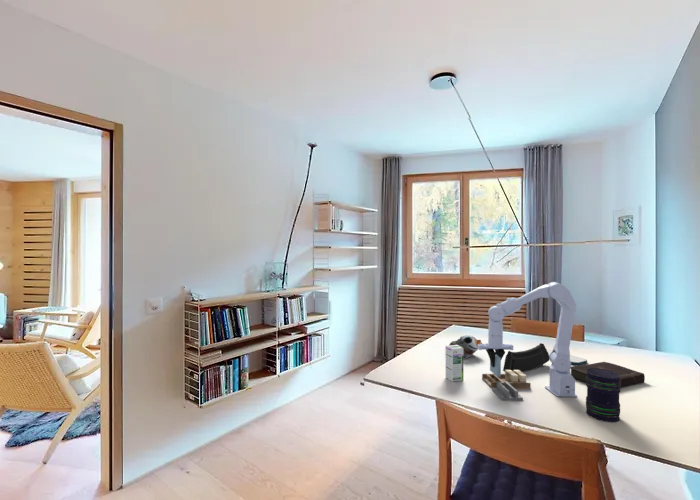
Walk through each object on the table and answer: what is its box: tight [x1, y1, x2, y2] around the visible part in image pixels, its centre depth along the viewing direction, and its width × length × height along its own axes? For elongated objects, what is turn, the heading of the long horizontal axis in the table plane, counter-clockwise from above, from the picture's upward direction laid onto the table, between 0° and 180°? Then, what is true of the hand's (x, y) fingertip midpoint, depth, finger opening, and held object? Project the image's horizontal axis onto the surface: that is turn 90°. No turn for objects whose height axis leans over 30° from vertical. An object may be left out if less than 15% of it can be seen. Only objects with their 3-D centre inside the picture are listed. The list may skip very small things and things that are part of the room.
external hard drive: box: [546, 348, 588, 366], centre depth 193 cm, size 24×12×2 cm, turn 28°
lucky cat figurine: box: [448, 335, 483, 359], centre depth 196 cm, size 15×12×14 cm
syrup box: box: [444, 345, 464, 383], centre depth 161 cm, size 6×6×14 cm
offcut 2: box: [513, 370, 527, 383], centre depth 156 cm, size 7×2×4 cm, turn 0°
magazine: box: [502, 343, 550, 373], centre depth 174 cm, size 17×3×30 cm
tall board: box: [489, 354, 502, 377], centre depth 156 cm, size 8×1×8 cm, turn 0°
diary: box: [570, 361, 646, 389], centre depth 162 cm, size 19×25×5 cm
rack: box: [481, 373, 532, 390], centre depth 156 cm, size 11×16×2 cm
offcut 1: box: [504, 370, 518, 382], centre depth 156 cm, size 7×2×4 cm, turn 0°
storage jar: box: [585, 368, 622, 423], centre depth 127 cm, size 10×10×15 cm
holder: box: [491, 381, 524, 401], centre depth 144 cm, size 10×8×4 cm
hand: (495, 366), depth 156 cm, fingers closed on tall board, 1 cm apart
